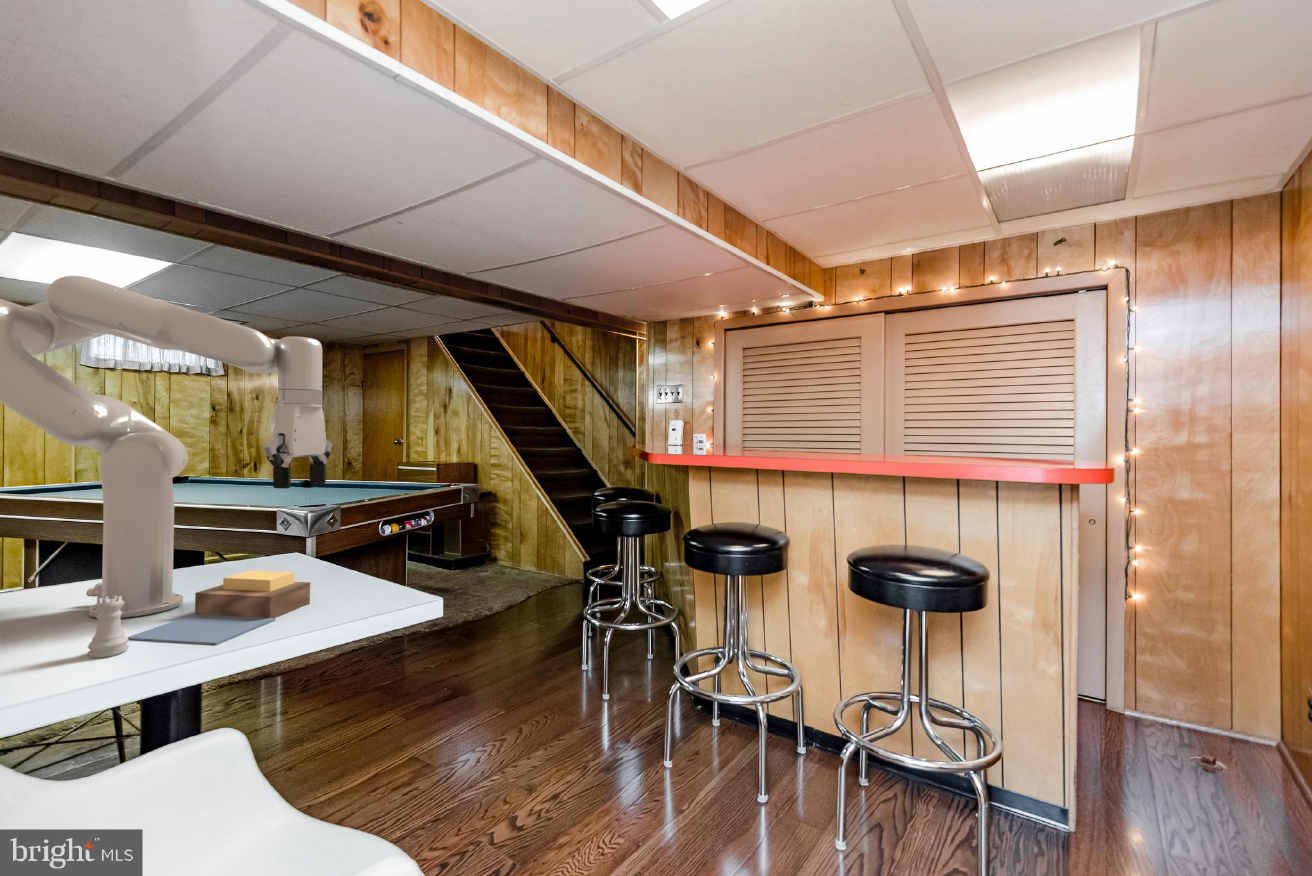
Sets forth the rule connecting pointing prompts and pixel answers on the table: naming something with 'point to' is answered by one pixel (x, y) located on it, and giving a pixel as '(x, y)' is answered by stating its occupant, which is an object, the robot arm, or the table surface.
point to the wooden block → (252, 601)
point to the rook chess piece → (108, 629)
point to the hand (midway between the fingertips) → (300, 485)
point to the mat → (202, 629)
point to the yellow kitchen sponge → (258, 580)
